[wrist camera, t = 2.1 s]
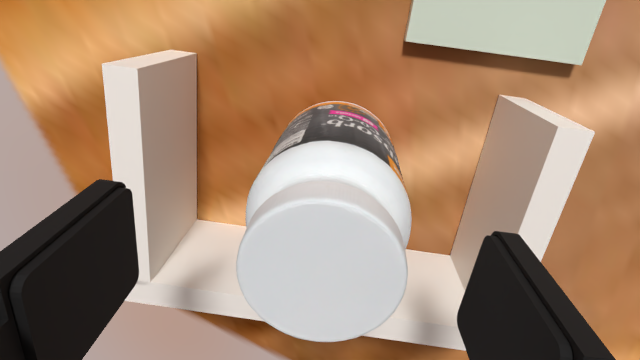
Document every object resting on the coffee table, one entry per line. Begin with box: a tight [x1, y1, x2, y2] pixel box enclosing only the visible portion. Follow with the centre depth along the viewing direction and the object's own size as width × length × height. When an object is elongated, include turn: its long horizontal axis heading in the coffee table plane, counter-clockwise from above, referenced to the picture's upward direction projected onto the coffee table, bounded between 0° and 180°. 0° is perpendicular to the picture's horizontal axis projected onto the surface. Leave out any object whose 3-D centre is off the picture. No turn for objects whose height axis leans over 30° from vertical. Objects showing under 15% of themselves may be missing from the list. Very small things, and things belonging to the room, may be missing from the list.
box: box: [102, 50, 595, 351], centre depth 17 cm, size 10×16×6 cm, turn 83°
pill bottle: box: [236, 101, 412, 342], centre depth 15 cm, size 6×6×10 cm
